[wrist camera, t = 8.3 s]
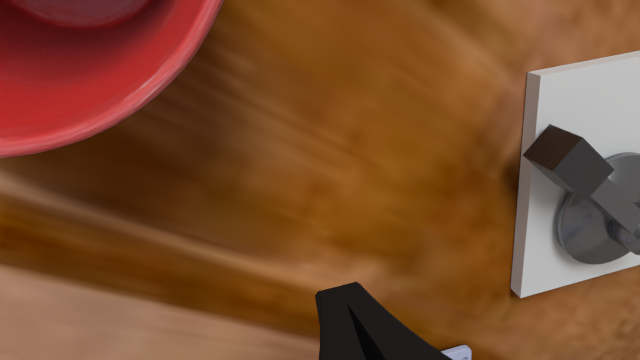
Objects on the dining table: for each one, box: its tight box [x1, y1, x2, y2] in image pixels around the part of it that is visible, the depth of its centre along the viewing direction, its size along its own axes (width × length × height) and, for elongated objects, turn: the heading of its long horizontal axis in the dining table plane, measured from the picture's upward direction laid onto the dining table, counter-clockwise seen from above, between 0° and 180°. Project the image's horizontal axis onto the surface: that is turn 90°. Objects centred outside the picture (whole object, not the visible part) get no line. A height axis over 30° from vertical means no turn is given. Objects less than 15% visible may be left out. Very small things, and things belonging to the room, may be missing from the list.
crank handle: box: [523, 124, 640, 265], centre depth 24 cm, size 11×7×2 cm, turn 52°
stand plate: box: [511, 51, 640, 298], centre depth 26 cm, size 14×14×1 cm
